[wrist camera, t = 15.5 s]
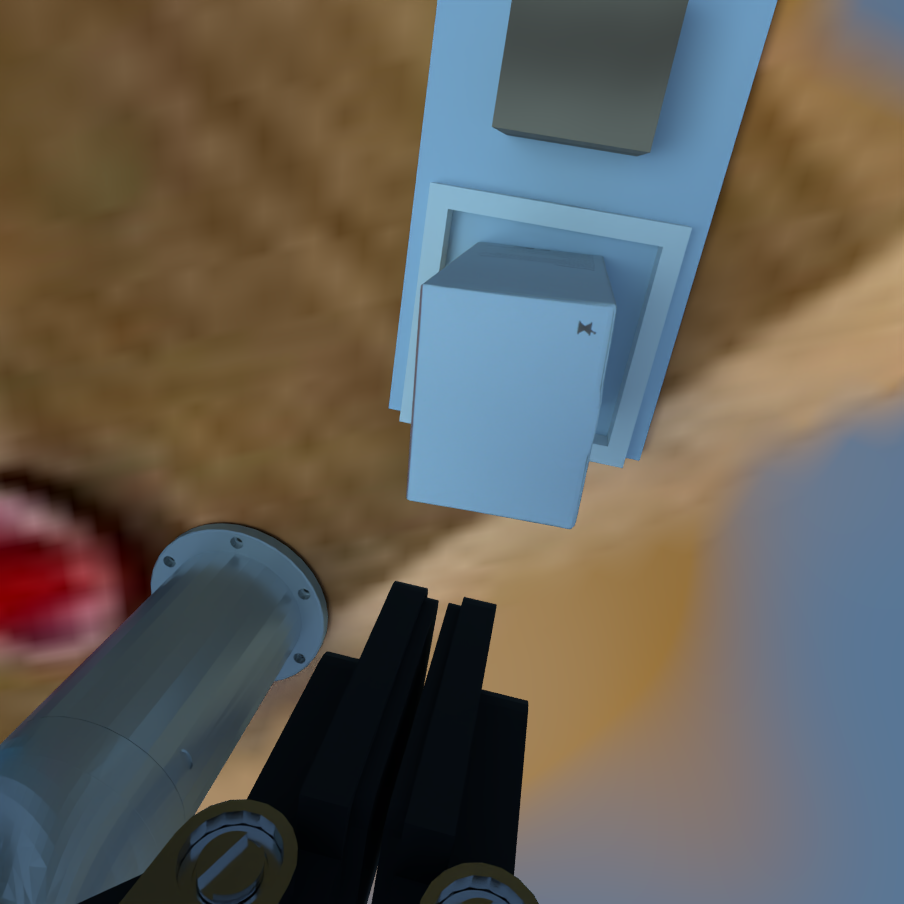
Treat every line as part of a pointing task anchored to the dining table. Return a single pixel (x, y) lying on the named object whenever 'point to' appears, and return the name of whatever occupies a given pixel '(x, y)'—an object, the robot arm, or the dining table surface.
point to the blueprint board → (582, 192)
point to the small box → (509, 381)
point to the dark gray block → (587, 71)
